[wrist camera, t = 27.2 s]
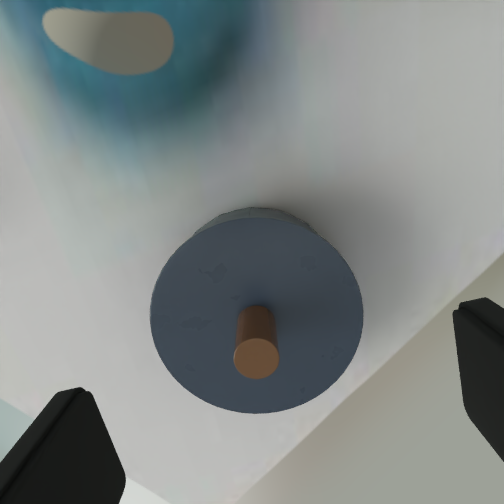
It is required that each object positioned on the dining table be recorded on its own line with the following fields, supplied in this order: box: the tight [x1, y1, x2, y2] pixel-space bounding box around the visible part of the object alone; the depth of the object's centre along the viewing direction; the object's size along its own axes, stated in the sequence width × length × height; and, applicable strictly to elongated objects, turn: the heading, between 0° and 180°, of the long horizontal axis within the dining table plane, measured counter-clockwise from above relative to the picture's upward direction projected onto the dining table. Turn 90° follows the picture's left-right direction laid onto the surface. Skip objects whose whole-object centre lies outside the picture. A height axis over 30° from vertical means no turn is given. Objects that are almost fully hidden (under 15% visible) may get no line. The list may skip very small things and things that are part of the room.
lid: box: [150, 216, 363, 414], centre depth 26 cm, size 16×16×6 cm
